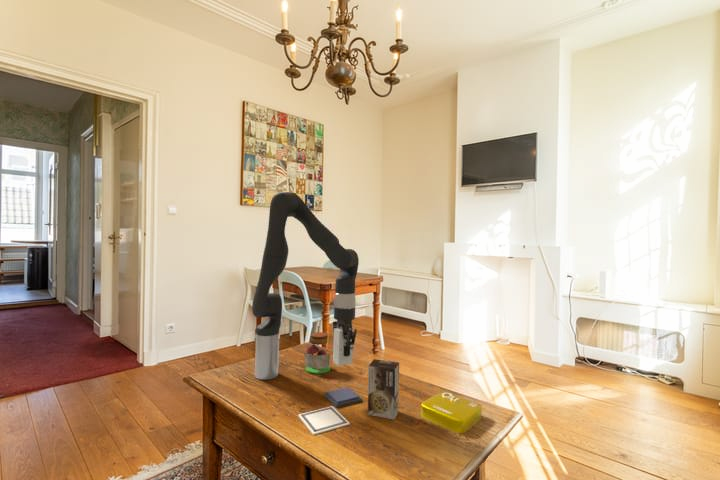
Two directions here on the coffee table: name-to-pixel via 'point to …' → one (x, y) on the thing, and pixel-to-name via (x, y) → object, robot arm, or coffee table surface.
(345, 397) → the ink pad
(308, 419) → the marked card
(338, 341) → the skincare box
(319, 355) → the multicoloured piece
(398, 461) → the coffee table surface
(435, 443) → the coffee table surface
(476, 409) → the element tile
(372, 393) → the coffee box
